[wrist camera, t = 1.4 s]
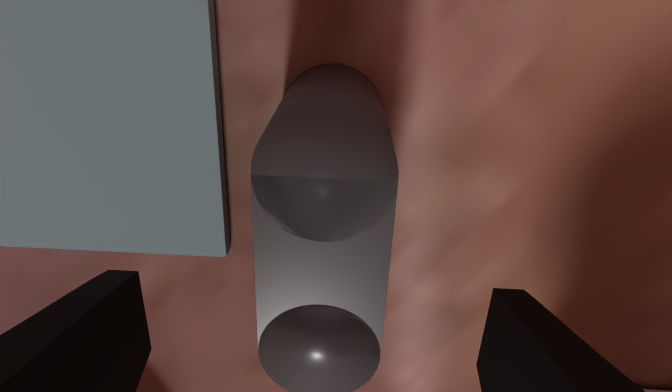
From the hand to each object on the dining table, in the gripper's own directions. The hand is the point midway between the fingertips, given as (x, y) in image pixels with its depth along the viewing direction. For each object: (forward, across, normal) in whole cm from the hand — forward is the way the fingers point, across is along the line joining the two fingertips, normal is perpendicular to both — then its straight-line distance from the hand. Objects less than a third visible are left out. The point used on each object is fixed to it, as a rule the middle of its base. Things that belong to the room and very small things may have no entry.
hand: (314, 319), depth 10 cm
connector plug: (+7, 0, +1) cm, 7 cm away
